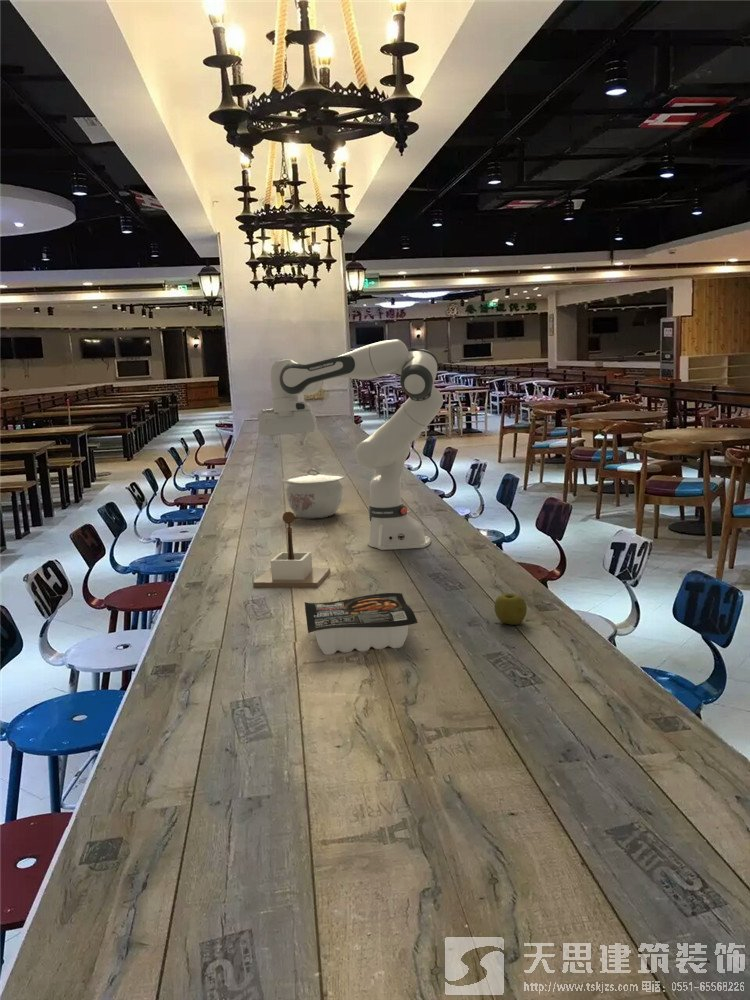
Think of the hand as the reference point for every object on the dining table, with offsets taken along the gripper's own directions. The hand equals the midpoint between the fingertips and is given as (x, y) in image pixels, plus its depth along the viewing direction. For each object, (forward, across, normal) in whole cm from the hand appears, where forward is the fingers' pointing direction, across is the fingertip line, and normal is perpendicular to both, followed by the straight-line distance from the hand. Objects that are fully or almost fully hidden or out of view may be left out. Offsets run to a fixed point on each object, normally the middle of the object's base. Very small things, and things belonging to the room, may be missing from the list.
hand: (289, 447), depth 269 cm
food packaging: (+51, +34, -79) cm, 100 cm away
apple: (+52, +70, -68) cm, 111 cm away
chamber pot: (+28, -8, +64) cm, 71 cm away
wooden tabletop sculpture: (+41, +6, -30) cm, 51 cm away
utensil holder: (+42, +5, -30) cm, 52 cm away
